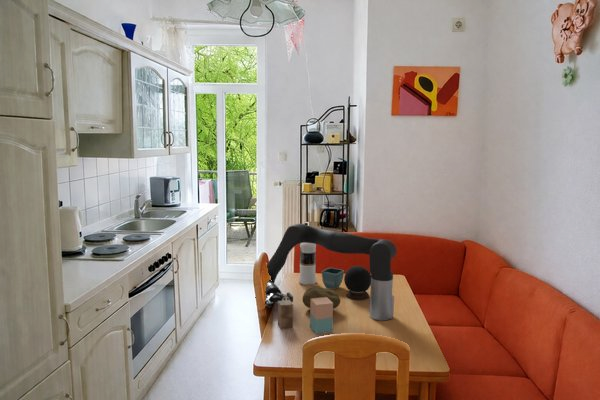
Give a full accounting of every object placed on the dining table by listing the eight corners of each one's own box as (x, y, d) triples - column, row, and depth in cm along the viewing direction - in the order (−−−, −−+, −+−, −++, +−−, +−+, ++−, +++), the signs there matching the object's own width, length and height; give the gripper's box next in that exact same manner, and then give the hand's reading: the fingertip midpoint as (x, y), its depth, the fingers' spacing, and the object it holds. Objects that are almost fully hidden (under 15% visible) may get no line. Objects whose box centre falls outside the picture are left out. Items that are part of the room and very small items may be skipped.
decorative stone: (341, 307, 202) (341, 285, 201) (339, 316, 192) (339, 294, 190) (304, 304, 206) (305, 283, 204) (300, 313, 195) (300, 291, 193)
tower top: (326, 311, 182) (326, 297, 181) (332, 317, 175) (333, 303, 175) (310, 312, 180) (310, 298, 179) (316, 319, 173) (316, 304, 172)
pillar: (289, 323, 184) (289, 299, 183) (292, 327, 180) (293, 304, 178) (277, 324, 183) (277, 301, 182) (280, 329, 178) (280, 305, 177)
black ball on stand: (363, 303, 208) (364, 271, 206) (338, 297, 215) (339, 267, 213) (375, 295, 219) (376, 265, 216) (351, 289, 226) (352, 261, 224)
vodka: (316, 285, 232) (317, 228, 228) (299, 285, 232) (299, 228, 227) (315, 279, 241) (316, 225, 237) (298, 279, 241) (298, 225, 237)
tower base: (326, 324, 183) (326, 311, 182) (332, 332, 176) (332, 317, 175) (310, 326, 181) (310, 312, 180) (315, 334, 174) (316, 319, 173)
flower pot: (344, 286, 230) (344, 270, 229) (336, 291, 223) (336, 274, 222) (329, 283, 235) (329, 267, 234) (320, 288, 227) (321, 271, 226)
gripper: (255, 285, 201) (263, 297, 186) (286, 283, 206) (296, 294, 190) (256, 301, 202) (263, 315, 187) (286, 298, 207) (296, 311, 191)
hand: (280, 304), depth 189 cm, fingers open, 8 cm apart
